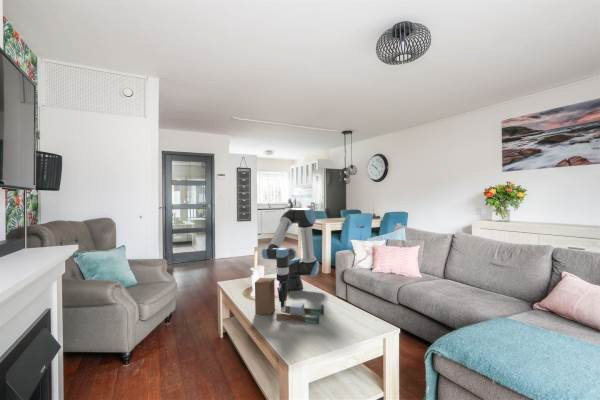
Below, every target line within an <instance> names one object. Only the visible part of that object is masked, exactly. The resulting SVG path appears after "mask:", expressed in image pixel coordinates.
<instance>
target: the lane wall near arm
mask: <svg viewBox="0 0 600 400" xmlns="http://www.w3.org/2000/svg"><path fill="white" fill-rule="evenodd" d="M290 306H291V305H286V312H289V313H290ZM317 312H318V313H319V316H324V314H325V306H324V304H322V303H321V304H320V308H313V307H312V308H311V307H305V306H304V314H309V315H310V314H311V315H316V313H317Z"/></svg>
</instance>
